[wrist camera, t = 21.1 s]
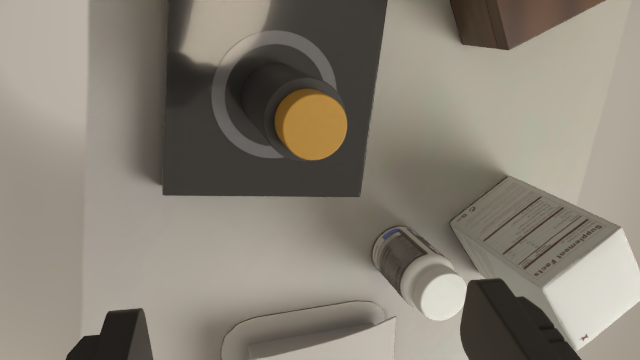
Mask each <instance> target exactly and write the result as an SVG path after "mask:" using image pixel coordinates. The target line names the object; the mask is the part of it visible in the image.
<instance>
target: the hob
mask: <svg viewBox="0 0 640 360" xmlns="http://www.w3.org/2000/svg"><path fill="white" fill-rule="evenodd" d="M386 8H387V0H167V11H166V53H165V95H164V138H163V180H162V191H163V195H177V196H297V197H360V193H361V186H362V179H363V171H364V164H365V157H366V150H367V143H368V136H369V129H370V122H371V114H372V107H373V100H374V93H375V86H376V79H377V72H378V65H379V57H380V50H381V43H382V36H383V29H384V22H385V15H386ZM271 63H281V64H285V65H288V66H290V67H293V68H295V69H297V70H300V71H302V72H304V73H307V74H309V75H311V76H313V77H316V78H318V79H320V80H323V81H324V82H326V83H328V84H329V85H331V86H332V87H333V88H334V89H335V90H336V91H337V93H338V94H339V95H340V97H341V99H342V101H343V104H344V108H345V114H346V118H347V132H346V135H345V138H344V140H343V142H342V144H341V145H340V147H339V148H338V149H337V150H336V151H335V152H334V153H333V154H331V155H330V156H328V157H326V158H323V159H320V160H310V161H295V160H291V159H288V158H286V157H284V156H282V155H280V154H279V153H278V152H277V151H275V149H274V148H273V147H272V146H271V145H270V144H269V142H268V141H267V140H266V139H265V138H264V136H263V135H262V134H261V133H260V132H259V130H258V129H257V128H256V127H255V126H254V124H253V123H252V122H251V121H250V120H249V118H248V117H247V115H246V113H245V111H244V108H243V105H242V91H243V87H244V85H245V82H246V80H247V79H248V77H249V76H250V75H251V74H252V73H253V72H254V71H255V70H256V69H258V68H260V67H262V66H264V65H267V64H271Z"/></svg>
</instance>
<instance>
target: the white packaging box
mask: <svg viewBox="0 0 640 360" xmlns="http://www.w3.org/2000/svg"><path fill="white" fill-rule="evenodd" d="M450 225H451V227H452V229H453V230H454V232H455V234H456V236H457V237H458V239H459V241H460V242H461V244H462V245H463V247H464V249H465V250H466V252H467V253H468V255H469V257H470V258H471V260H472V261H473V263H474V265H475V266H476V268H477V270H478V271H479V273H480V274H481V275H482V276H483V277H485V278H486V279H492V278H501V279H502V280H503V281H504V282H505V283H506V284H507V286H508V287H509V288H510V290H511V291H512V292H513V294H514V295H515V297H521V296H524V297H525V298H526V299H528V300H529V301H531V302H532V303H534V304H535V305H536V306H538V307H539V308H541V309H542V310H543V312H544V313H545V314H546V315H547V317H548V318H549V319H550V320H551V322H552V323H553V324H554V328H557V329H558V331H559V332H560V333H561V334H562V336H563V337H564V340H565V341H567V342H568V343H569V345H570V346H571V347H572V348H573V349H574V350H576V351H577V350H579V349H580V348H582V347H583V346H584V345H586V344H587V343H588V342H590V341H591V340H592V339H593V338H595V337H596V336H597V335H598V334H600V333H601V332H602V331H603V330H605V329H606V328H607V327H608V326H609V325H611V323H613V322H614V321H615V320H617V319H618V318H619V317H620V316H622V315H623V314H624V313H625V312H626V311H628V310H629V309H630V308H631V307H633V306H634V305H635V304H636V303H638V302H639V301H640V269H639V268H638V265H637V262H636V260H635V258H634V255H633V253H632V250H631V248H630V246H629V243H628V241H627V238H626V236H625V234H624V231H623V229H622V227H621V226H618V225H616V224H614V223H611V222H609V221H607V220H605V219H603V218H601V217H599V216H597V215H594V214H592V213H590V212H588V211H585V210H584V209H581V208H579V207H577V206H575V205H573V204H571V203H569V202H566V201H564V200H562V199H560V198H558V197H556V196H553V195H551V194H549V193H547V192H545V191H543V190H541V189H538V188H536V187H534V186H532V185H530V184H527V183H525V182H523V181H521V180H518V179H516V178H514V177H512V176H509V177H508V178H506V179H505V180H503V181H502V182H501V183H499V184H498V185H497V186H495V187H494V188H493V189H491V190H490V191H489V192H488V193H486V194H485V195H484V196H482V197H481V198H480V199H479V200H477V201H476V202H475V203H473V204H472V205H471V206H469V207H468V208H467V209H466V210H464V211H463V212H462V213H461V214H459V215H458V216H457V217H456V218H454V219H453V220H452V221H451V222H450Z"/></svg>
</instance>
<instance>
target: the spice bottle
mask: <svg viewBox="0 0 640 360" xmlns="http://www.w3.org/2000/svg"><path fill="white" fill-rule="evenodd" d="M242 105H243V108H244V111H245V113H246V115H247V117H248V118H249V120H250V121H251V122H252V123H253V124H254V126H255V127H256V128H257V129H258V130H259V132H260V133H261V134H262V135H263V136H264V138H265V139H266V140H267V141H268V142H269V144H270V145H271V146H272V147H273V148H274V149H275V151H277V152H278V153H279V154H280V155H282V156H284V157H286V158H288V159H291V160H295V161H310V160H320V159H323V158H326V157H328V156H330V155H331V154H333V153H334V152H335V151H336V150H337V149H338V148H339V147H340V145H341V144H342V142H343V140H344V138H345V135H346V132H347V118H346V114H345V108H344V104H343V101H342V99H341V97H340V95H339V94H338V93H337V91H336V90H335V89H334V88H333V87H332V86H331V85H329V84H328V83H326V82H324V81H323V80H320V79H318V78H316V77H313V76H311V75H309V74H307V73H304V72H302V71H300V70H297V69H295V68H293V67H290V66H288V65H285V64H281V63H271V64H267V65H264V66H262V67H260V68H258V69H256V70H255V71H254V72H253V73H252V74H251V75H250V76H249V77H248V79H247V80H246V82H245V85H244V87H243V91H242Z"/></svg>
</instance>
